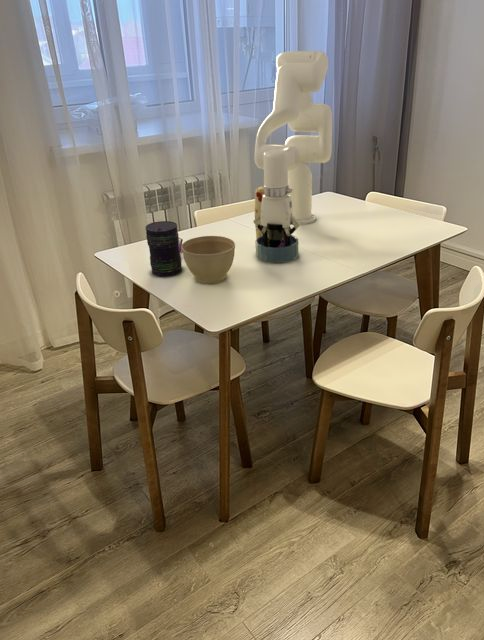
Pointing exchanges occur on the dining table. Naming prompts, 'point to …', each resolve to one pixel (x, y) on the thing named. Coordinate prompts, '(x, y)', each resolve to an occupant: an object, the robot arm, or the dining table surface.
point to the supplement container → (275, 235)
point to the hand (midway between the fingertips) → (277, 244)
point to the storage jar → (164, 248)
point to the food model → (258, 207)
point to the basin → (276, 251)
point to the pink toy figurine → (180, 245)
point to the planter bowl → (209, 257)
